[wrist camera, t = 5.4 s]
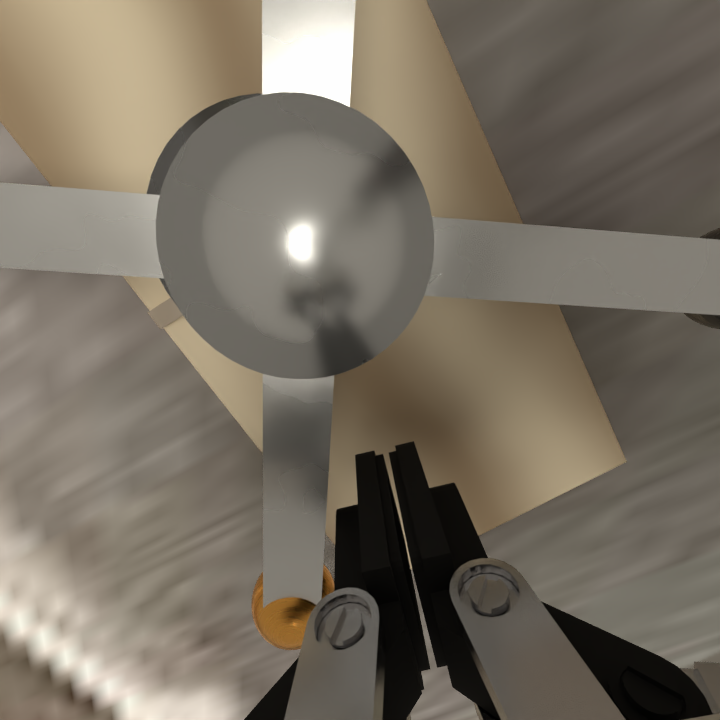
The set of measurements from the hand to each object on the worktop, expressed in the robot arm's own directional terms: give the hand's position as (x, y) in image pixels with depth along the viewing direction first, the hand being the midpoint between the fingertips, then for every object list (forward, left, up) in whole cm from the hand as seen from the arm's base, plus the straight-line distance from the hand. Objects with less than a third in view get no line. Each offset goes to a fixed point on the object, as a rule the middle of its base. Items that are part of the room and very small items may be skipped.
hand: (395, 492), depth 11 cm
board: (-2, -7, -4) cm, 8 cm away
